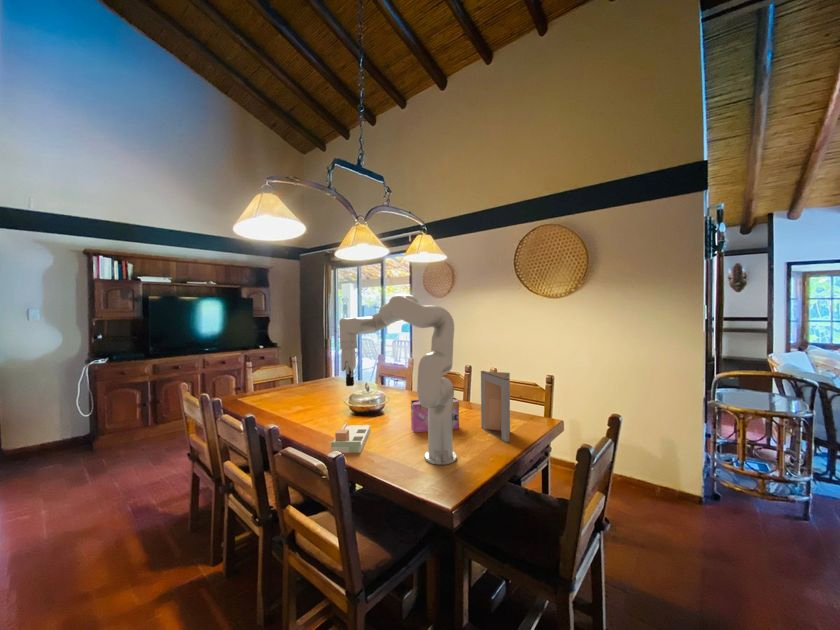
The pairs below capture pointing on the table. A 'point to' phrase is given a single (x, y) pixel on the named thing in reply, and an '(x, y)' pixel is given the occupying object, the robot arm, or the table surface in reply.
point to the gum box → (421, 416)
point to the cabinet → (496, 404)
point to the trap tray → (352, 439)
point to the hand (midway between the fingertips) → (350, 385)
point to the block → (342, 435)
